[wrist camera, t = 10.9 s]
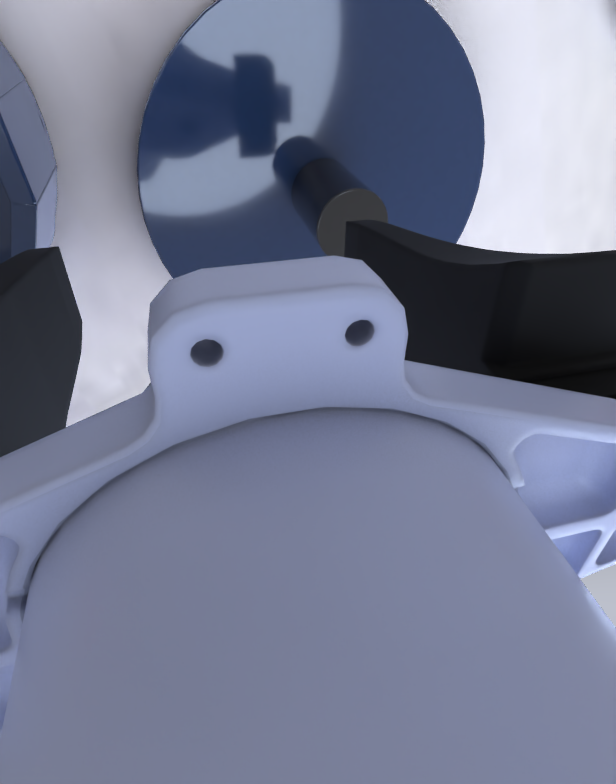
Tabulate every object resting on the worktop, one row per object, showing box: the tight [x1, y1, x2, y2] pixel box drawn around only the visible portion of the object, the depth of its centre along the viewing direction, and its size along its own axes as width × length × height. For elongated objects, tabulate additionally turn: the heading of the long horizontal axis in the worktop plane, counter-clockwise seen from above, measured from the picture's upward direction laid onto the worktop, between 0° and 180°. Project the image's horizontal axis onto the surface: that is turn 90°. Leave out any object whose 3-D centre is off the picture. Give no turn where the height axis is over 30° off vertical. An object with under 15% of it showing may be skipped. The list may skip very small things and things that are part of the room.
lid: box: [137, 0, 485, 279], centre depth 19 cm, size 14×14×5 cm
